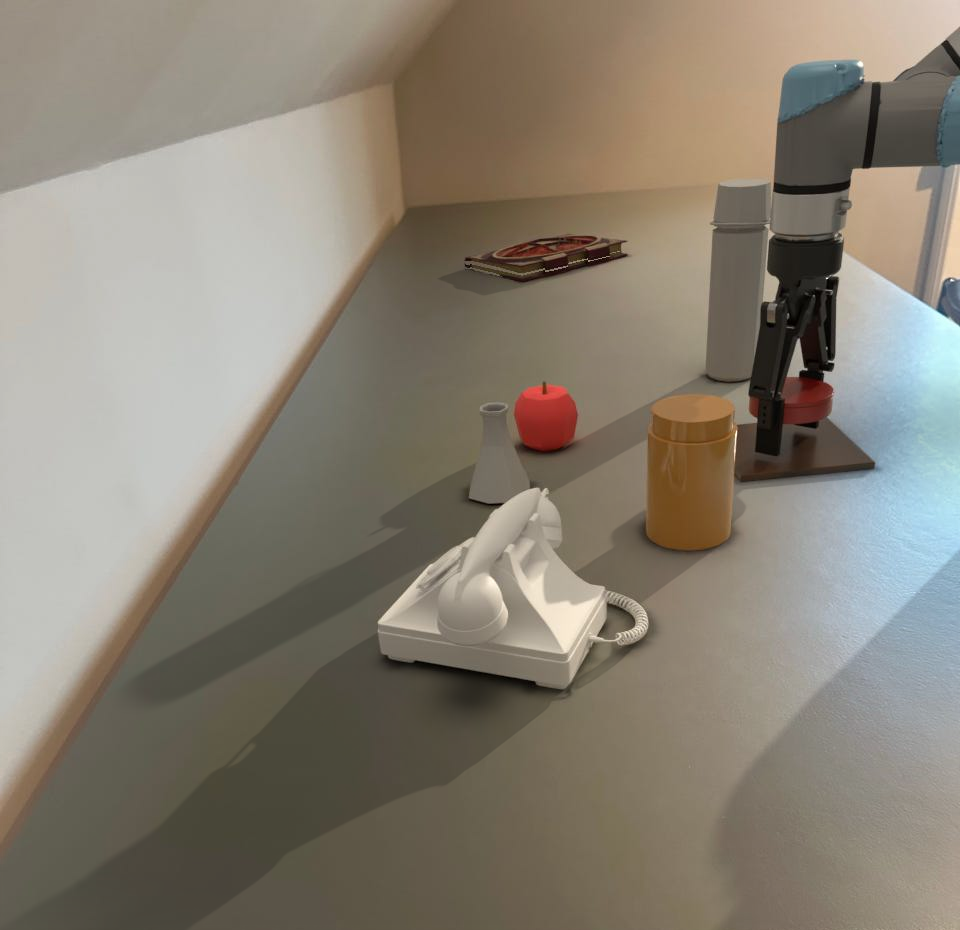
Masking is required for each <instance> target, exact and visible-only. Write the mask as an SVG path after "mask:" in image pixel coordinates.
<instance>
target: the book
mask: <svg viewBox="0 0 960 930" xmlns="http://www.w3.org/2000/svg"><path fill="white" fill-rule="evenodd" d="M624 243H628V240H625V239H615V238H607V237H601V236H600V235H595V234H571V233H566V234H563V235H557V236H554V237H545V238H544V237H543V238H537V239H534V240H530V241H525V242H522V243H517V244H513V245H510V246H507V247H504V248H500V249H496V250H491V251H487V252H484V253H478V254H474V255H469V256H465V257H464V261H474V262H479V263H483V264H487V265H491V266H496V267H500V268H503V269H506V270H510V271H514V272H517V273H526V272H531V271H535V270H539V269H543V268H545V270H550V269H554V268H558V267H563V266H567V265H568V267H566V268H562V269H558V270H554V271H549V272H545V270H543V271H539V272H535V273H531V274H527V275H523V276H521V275H516V274H512V273H508V272H503V271H499V270H494V269H490V268H485V267H481V266H477V265H472V264H470V265H466V264H465V263H464V268H465V267H467V268H470V267H472V268H476V269H480V270H484V271H488V272H493V273H496V274H499V275H500V276H502V277H505V278H504V279H507V278H509V279H508V280H511V281H512V280H513V281H518V282H522V283H523V282H527V281H531V280H535V279H539V278H548V276H549V277H552V276H555V275H560V274H564V273H568V272H569V271H572V270H575V269H579V268H583V267H592V266H596V265H600V264H604V263H609V262H610V261H612V260H615V259H619V258H623V257H627V256H628V255H629V254H628V253H624V252H623V251H622V244H624ZM617 251H620V252H617ZM612 252H616V253H612ZM610 253H612V254H610ZM606 256H610V257H606ZM602 257H606V258H602ZM587 258H588V260H594V259H598V258H602V259H598V260H594V261H590V262H588V260H584V261H580V262H576V263H572V264H568V263H569V262H573V261H577V260H582V259H587ZM502 277H501V278H502Z"/></svg>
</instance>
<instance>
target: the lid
mask: <svg viewBox="0 0 960 930" xmlns="http://www.w3.org/2000/svg"><path fill="white" fill-rule="evenodd" d="M834 393H835V389H834V387H833V386H832V385H831V384H830V383H828V382H825V381H820V380H816V379H811V378H804V377H799V376H787V377H786V381H785V384H784V388H783V391H782V395H781V398H785V406H784V417H783V424H804V423H811V422H815V421H819V420H822V419H824V418H826V417H827V418H828V417H829V416H830V415H831V413H832V410H833V403H834ZM758 405H759V399H758V398H753V397H749V399H748V413H749V414H750V416H752V417H754V418H756V419H757V418H758Z"/></svg>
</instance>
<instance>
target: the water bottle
mask: <svg viewBox="0 0 960 930" xmlns="http://www.w3.org/2000/svg"><path fill="white" fill-rule="evenodd" d="M715 198H716V199H715V205H714V213H713V220H712V221H711V222H710V223H709V225H710V226H713V227H715V228H713V229H712V235H711V251H710V252H711V253H710V254H711V257H710V273H709V291H708V292H709V294H708V312H707V332H706V351H705V372H706V374H707V376H708V378H711V379H713V380H716V381H718V382H725V383H726V382H727V383H733V382H741V381H746V380H748V379H751V375H752V369H753V363H754V357H755V352H756V346H757V340H758V335H759V329H760V309H761V305H762V303H763V302H764V290H765V278H766V269H767V256H768V244H769V231H770V228H769V227H768V226H767V225H770V216H771V205H772V181H771V180H769V179H765V178H736V179H729V180H724V181H721V182H718V185H717V191H716V197H715Z"/></svg>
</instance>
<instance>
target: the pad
mask: <svg viewBox="0 0 960 930" xmlns="http://www.w3.org/2000/svg"><path fill="white" fill-rule="evenodd" d="M736 425H737V427H738V433H737V447H736V461H735V477H737V479H738V480H739V481H740V482H741V483H742V482H753V481H764V480H773V479H783V478H793V477H803V476H812V475H823V474H824V475H825V474H833V473H844V472H845V473H846V472H853V471H854V472H855V471H863V470H864V471H865V470H873V469H875V467H876V462H875V460H873V458H871V457H870V456H869V455H868V454H867V453H866V452H865V451H864V450H863V449H862V448H861V447H859V446H858V445H857V443H856V442H854V441H853V440H852V439H851V438H850V437H849V436H848V435H847V434H845V432H844V431H842V429H840V428H839V427H838V426H837V424H835V423H833V421H832V420H830V418H828V417H826V418H824V419H822V420H819V426H818V428H816V429H813V428H808V427H802V426H797V425H794V424H783V427H782V438H781V449H780V455H778V456H777V457H776V456H772V455H767V454H762V453H757V452H755V444H756V431H757V422H749V423H740V424H736Z"/></svg>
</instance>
